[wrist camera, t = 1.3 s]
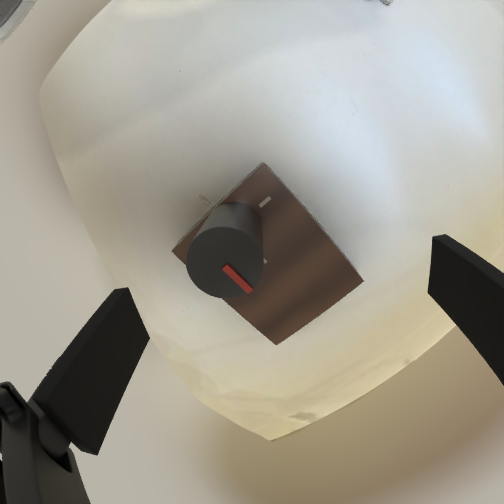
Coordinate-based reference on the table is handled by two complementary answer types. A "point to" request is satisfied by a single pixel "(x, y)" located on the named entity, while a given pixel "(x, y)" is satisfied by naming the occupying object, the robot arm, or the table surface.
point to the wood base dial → (285, 259)
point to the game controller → (387, 1)
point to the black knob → (227, 252)
